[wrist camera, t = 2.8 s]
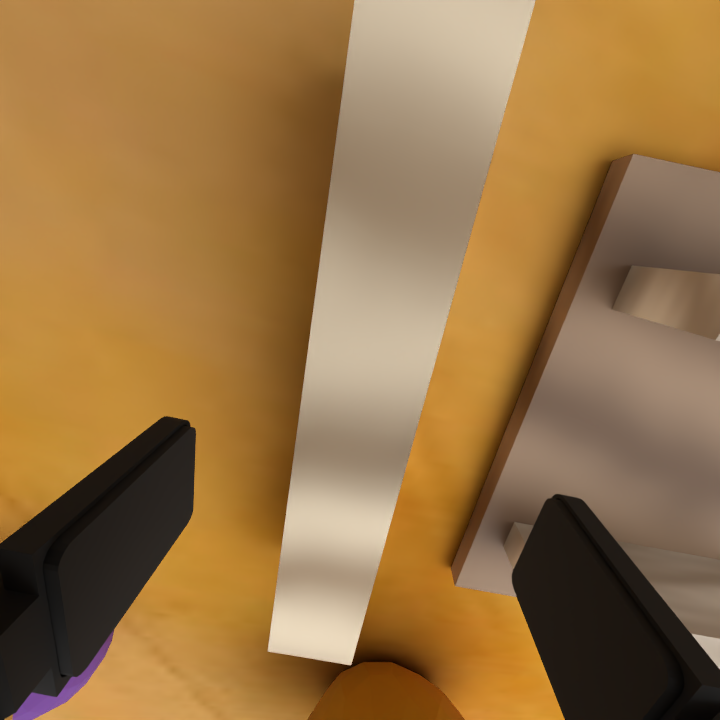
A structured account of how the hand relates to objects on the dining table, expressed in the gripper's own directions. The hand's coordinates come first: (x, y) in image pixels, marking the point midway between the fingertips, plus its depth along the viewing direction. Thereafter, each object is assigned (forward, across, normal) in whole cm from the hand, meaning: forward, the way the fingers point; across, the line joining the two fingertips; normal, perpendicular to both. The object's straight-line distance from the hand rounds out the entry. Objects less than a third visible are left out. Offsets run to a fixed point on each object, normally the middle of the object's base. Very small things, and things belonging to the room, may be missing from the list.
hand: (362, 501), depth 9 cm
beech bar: (+7, 0, -1) cm, 7 cm away
